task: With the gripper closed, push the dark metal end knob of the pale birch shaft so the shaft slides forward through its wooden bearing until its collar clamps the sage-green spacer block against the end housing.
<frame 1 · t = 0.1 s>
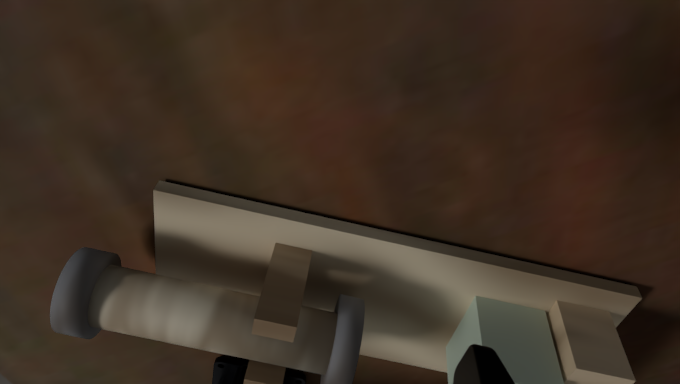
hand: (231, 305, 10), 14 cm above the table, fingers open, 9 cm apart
spacer: (492, 329, 30), point 1 cm above the table, touching bench
bench: (380, 294, 31), on the table
shaft: (215, 319, 27), point 4 cm above the table, slide at 6.0 cm
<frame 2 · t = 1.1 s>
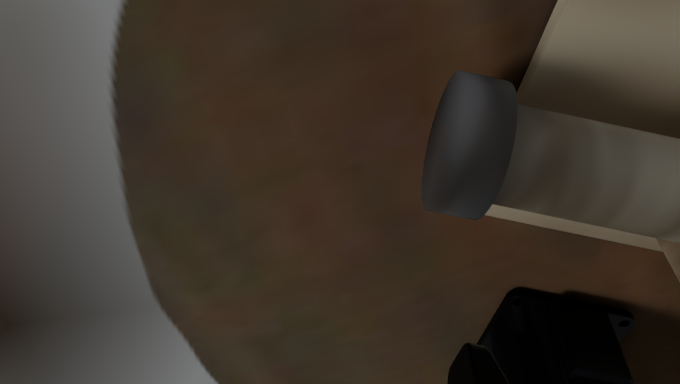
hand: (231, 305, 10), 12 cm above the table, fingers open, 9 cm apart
shaft: (666, 188, 17), point 4 cm above the table, slide at 6.0 cm
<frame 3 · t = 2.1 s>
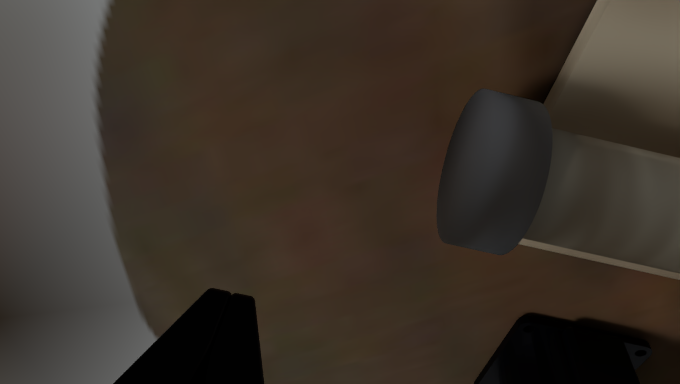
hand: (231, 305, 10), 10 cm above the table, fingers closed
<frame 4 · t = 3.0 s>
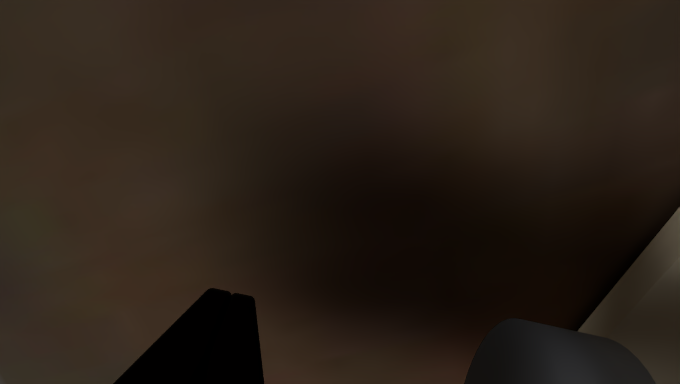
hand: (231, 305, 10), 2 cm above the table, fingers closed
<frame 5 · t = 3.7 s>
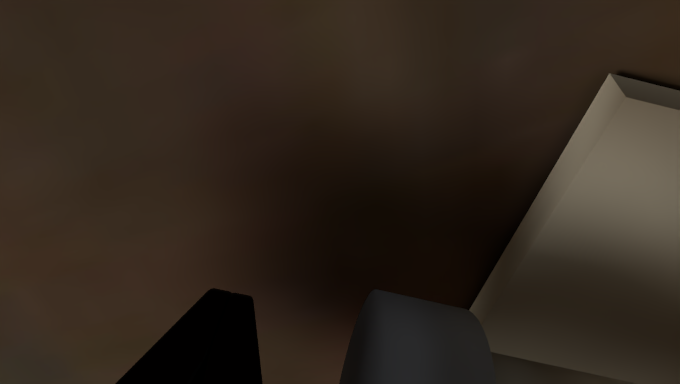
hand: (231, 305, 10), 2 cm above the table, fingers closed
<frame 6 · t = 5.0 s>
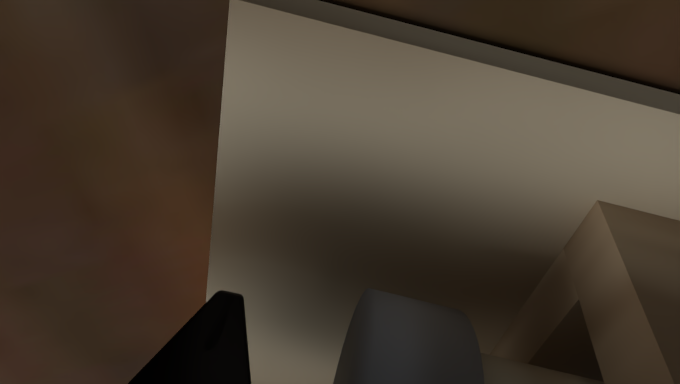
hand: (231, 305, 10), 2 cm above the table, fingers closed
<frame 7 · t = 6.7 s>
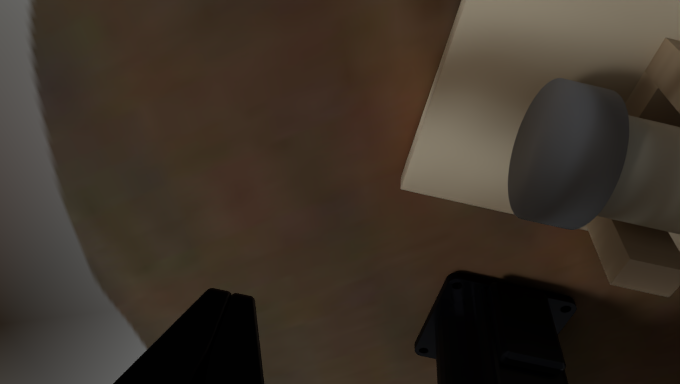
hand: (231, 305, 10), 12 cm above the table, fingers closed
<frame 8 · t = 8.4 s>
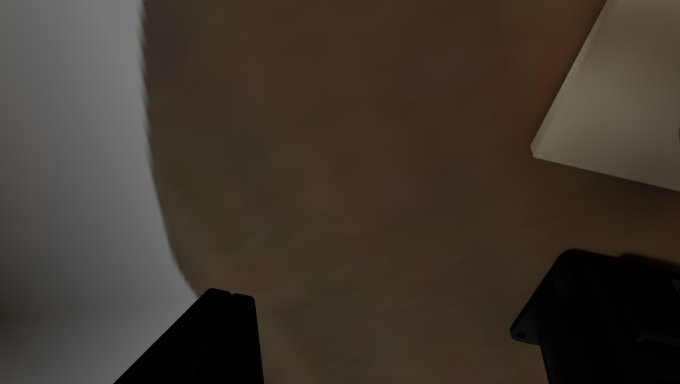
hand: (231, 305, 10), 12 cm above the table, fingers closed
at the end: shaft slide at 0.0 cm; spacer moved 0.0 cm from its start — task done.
